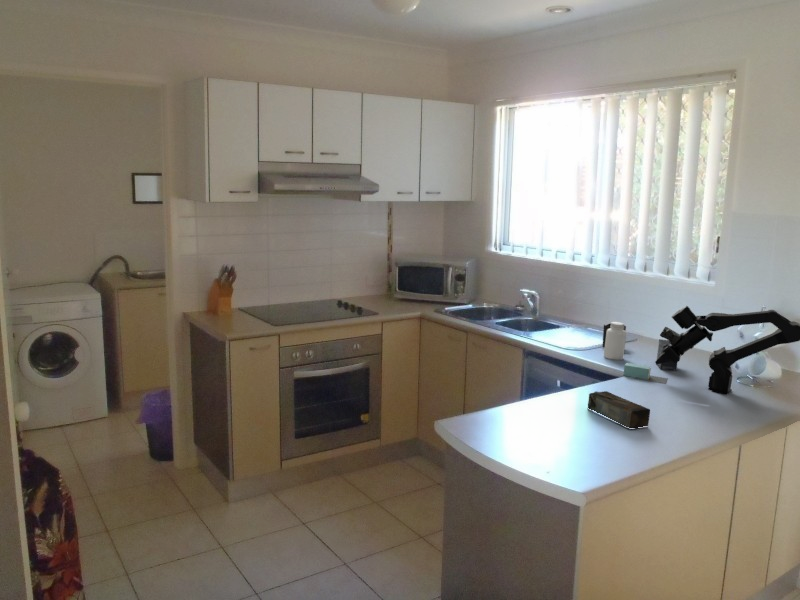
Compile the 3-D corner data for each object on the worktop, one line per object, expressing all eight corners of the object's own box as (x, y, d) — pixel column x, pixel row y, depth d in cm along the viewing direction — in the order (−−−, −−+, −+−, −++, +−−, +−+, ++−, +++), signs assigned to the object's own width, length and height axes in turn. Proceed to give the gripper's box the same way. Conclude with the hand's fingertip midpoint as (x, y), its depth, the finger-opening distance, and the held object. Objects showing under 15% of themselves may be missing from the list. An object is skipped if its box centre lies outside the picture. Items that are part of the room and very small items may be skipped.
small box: (677, 372, 261) (680, 346, 259) (659, 370, 262) (663, 345, 260) (672, 365, 271) (675, 340, 269) (655, 363, 273) (658, 338, 271)
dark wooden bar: (605, 407, 219) (607, 388, 217) (649, 428, 202) (652, 408, 201) (586, 410, 215) (588, 390, 214) (630, 432, 198) (632, 411, 197)
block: (651, 366, 252) (626, 362, 256) (649, 369, 248) (624, 365, 252) (649, 376, 252) (625, 372, 256) (648, 379, 249) (623, 375, 253)
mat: (668, 379, 251) (668, 378, 251) (665, 385, 244) (665, 383, 244) (637, 374, 256) (637, 373, 256) (634, 379, 249) (634, 378, 249)
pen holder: (599, 344, 301) (601, 322, 299) (620, 345, 300) (622, 323, 299) (604, 349, 292) (607, 327, 290) (626, 350, 291) (628, 328, 289)
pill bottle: (625, 361, 274) (628, 325, 271) (605, 359, 275) (608, 324, 273) (621, 356, 282) (625, 321, 279) (602, 354, 283) (605, 320, 280)
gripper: (678, 316, 251) (645, 341, 258) (672, 325, 235) (637, 351, 242) (698, 339, 249) (664, 363, 256) (694, 350, 233) (658, 375, 240)
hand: (655, 363), depth 249 cm, fingers closed
